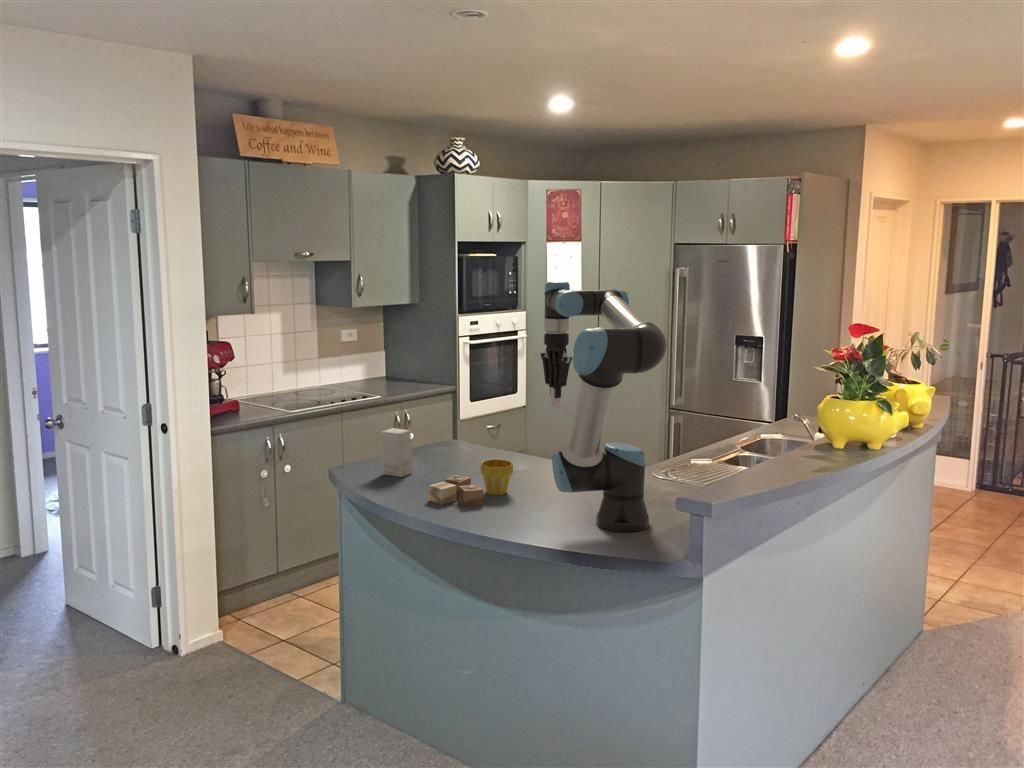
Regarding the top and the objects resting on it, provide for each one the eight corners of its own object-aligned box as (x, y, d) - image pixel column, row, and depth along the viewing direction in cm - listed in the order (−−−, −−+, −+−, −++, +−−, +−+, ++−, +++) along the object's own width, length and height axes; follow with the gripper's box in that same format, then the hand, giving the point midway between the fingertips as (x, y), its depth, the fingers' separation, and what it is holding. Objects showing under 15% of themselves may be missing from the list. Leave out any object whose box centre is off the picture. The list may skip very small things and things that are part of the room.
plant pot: (509, 498, 272) (509, 468, 271) (477, 495, 274) (477, 466, 273) (515, 488, 282) (515, 459, 281) (485, 486, 284) (485, 458, 283)
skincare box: (412, 473, 299) (412, 430, 297) (400, 478, 294) (399, 433, 291) (393, 470, 304) (393, 427, 301) (381, 474, 298) (380, 430, 296)
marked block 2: (483, 505, 265) (483, 488, 264) (464, 507, 263) (464, 490, 262) (476, 499, 271) (477, 483, 270) (458, 501, 269) (458, 485, 268)
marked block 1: (470, 492, 278) (470, 477, 277) (460, 497, 273) (460, 481, 272) (455, 489, 281) (455, 474, 280) (444, 494, 276) (444, 478, 275)
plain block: (456, 500, 269) (456, 485, 268) (442, 504, 265) (442, 489, 264) (443, 496, 273) (443, 481, 273) (429, 500, 269) (429, 485, 268)
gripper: (579, 333, 260) (577, 410, 263) (553, 329, 270) (552, 403, 274) (560, 334, 255) (558, 412, 259) (534, 330, 266) (533, 405, 270)
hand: (555, 407), depth 267 cm, fingers closed
